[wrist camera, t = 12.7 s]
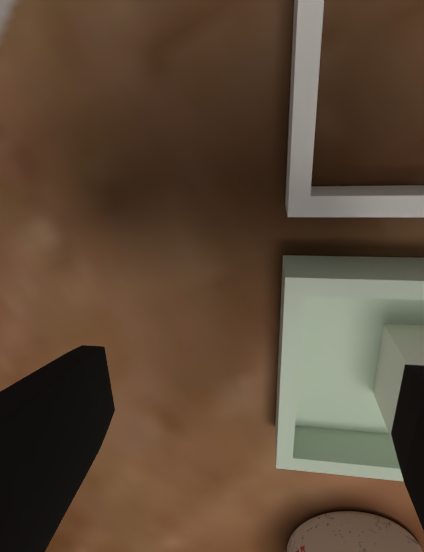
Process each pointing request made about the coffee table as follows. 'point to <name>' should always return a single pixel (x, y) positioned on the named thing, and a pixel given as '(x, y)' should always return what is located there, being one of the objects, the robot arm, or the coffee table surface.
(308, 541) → the teacup with lid
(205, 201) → the coffee table surface
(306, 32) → the bin
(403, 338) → the cream block
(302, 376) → the green bin
